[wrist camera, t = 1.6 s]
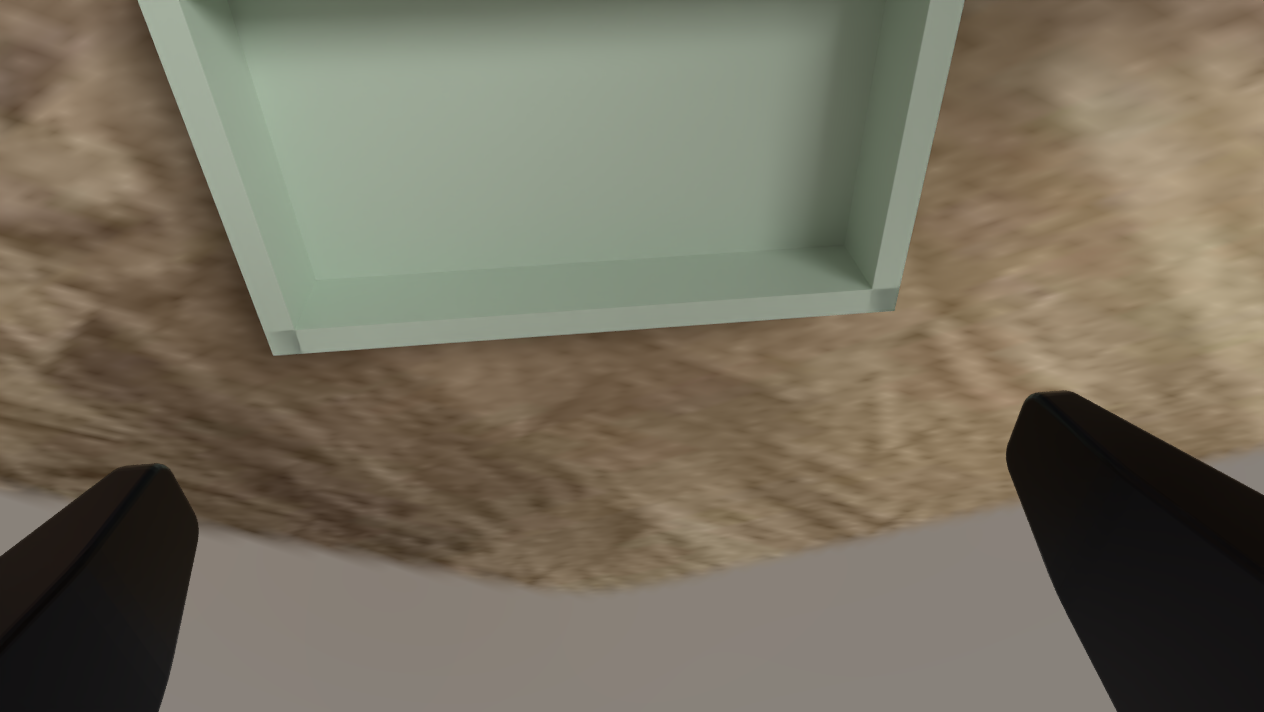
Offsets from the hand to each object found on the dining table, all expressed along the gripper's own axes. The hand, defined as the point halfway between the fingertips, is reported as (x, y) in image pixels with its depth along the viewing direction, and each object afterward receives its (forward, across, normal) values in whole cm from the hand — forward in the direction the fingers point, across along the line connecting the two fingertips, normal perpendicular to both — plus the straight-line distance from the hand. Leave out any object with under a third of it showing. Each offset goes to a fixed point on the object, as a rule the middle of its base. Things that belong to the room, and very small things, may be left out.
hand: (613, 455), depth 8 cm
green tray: (+10, 0, 0) cm, 10 cm away
